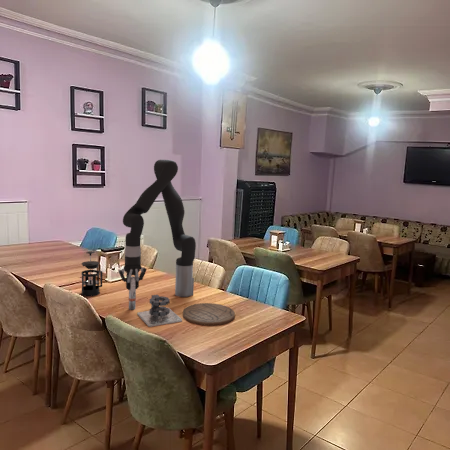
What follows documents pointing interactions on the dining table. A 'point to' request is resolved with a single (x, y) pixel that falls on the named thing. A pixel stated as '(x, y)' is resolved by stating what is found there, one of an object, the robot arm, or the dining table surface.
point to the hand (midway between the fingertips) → (132, 288)
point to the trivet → (208, 314)
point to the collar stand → (159, 312)
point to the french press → (90, 285)
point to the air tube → (132, 293)
